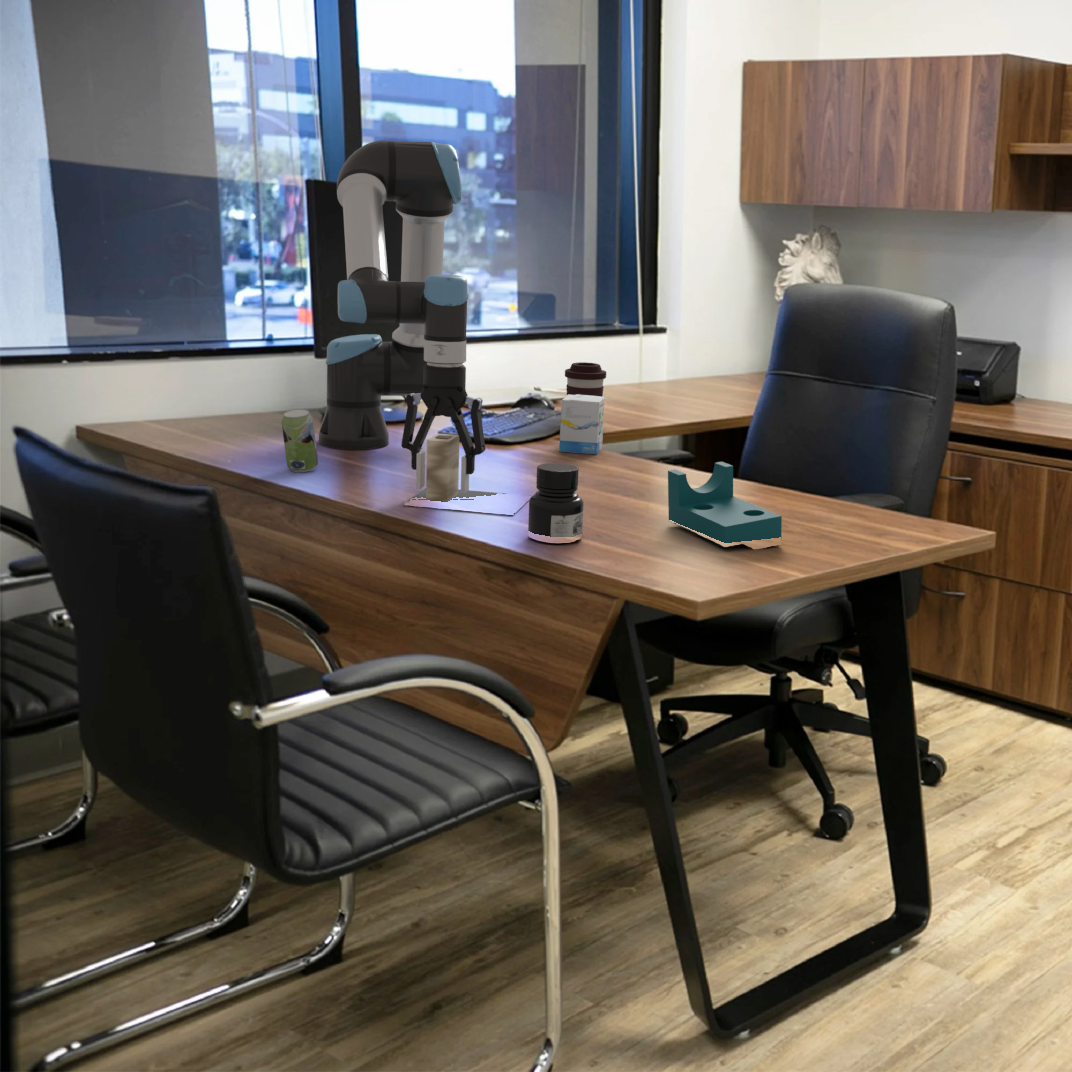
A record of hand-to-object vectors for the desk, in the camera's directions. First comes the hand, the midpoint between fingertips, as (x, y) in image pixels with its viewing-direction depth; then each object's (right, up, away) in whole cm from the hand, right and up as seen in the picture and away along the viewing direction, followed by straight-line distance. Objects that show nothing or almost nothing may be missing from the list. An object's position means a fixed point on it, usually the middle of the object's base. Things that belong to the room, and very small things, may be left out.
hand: (442, 489), depth 238 cm
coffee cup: (+28, +18, +79) cm, 86 cm away
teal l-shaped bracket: (+49, -9, -17) cm, 52 cm away
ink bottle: (+20, -9, -22) cm, 31 cm away
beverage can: (-29, +4, +20) cm, 36 cm away
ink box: (+27, +10, +50) cm, 58 cm away
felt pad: (+5, -2, 0) cm, 5 cm away
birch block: (0, -1, 0) cm, 1 cm away
